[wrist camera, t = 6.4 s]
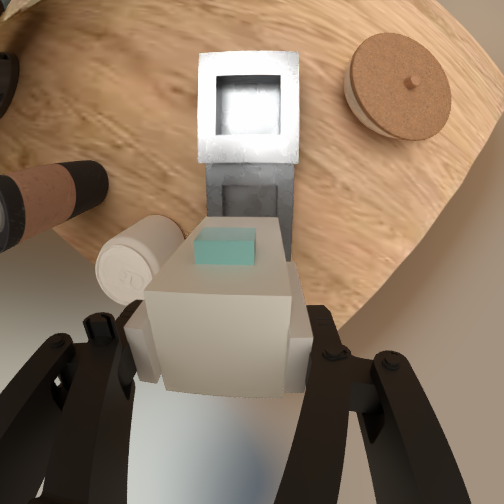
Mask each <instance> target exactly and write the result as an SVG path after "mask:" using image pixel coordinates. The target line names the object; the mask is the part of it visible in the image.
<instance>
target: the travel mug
mask: <svg viewBox="0 0 504 504" xmlns="http://www.w3.org/2000/svg"><path fill="white" fill-rule="evenodd" d="M107 191H108V177H107V173H106V171H105V169H104V168H103V167H102V165H100V164H99V163H98V162H95V161H91V160H86V161H74V162H64V163H55V164H49V165H44V166H39V167H34V168H29V169H24V170H20V171H16V172H11V173H7V174H3V175H0V253H2V252H4V251H6V250H7V249H9V248H11V247H13V246H15V245H17V244H19V243H21V242H23V241H25V240H27V239H29V238H31V237H33V236H35V235H37V234H39V233H41V232H43V231H46V230H48V229H50V228H52V227H54V226H56V225H59V224H61V223H63V222H65V221H67V220H69V219H71V218H73V217H75V216H77V215H79V214H81V213H83V212H85V211H87V210H89V209H91V208H93V207H95V206H97V205H98V204H100V203H101V202H102V201H103V200H104V198H105V196H106V194H107Z"/></svg>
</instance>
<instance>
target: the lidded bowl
mask: <svg viewBox="0 0 504 504" xmlns="http://www.w3.org/2000/svg"><path fill="white" fill-rule="evenodd" d="M343 87H344V93H345V97H346V100H347V102H348V105H349V107H350V108H351V110H352V112H353V113H354V115H355V116H356V117H357V118H358V119H359V120H360V121H361V122H362V123H363V124H364V125H365V126H366V127H368V128H369V129H371V130H373V131H375V132H376V133H378V134H381V135H383V136H386V137H390V138H395V139H403V140H413V141H417V140H424V139H427V138H430V137H432V136H434V135H436V134H437V133H438V132H439V131H440V130H441V129H442V128H443V127H444V125H445V124H446V122H447V120H448V117H449V114H450V110H451V91H450V86H449V83H448V79H447V77H446V75H445V72H444V71H443V69H442V67H441V65H440V64H439V62H438V61H437V60H436V58H435V57H434V56H433V55H432V54H431V53H430V52H429V51H428V50H427V49H426V48H425V47H424V46H422V45H421V44H419V43H418V42H416V41H415V40H413V39H411V38H409V37H406V36H403V35H400V34H395V33H381V34H377V35H374V36H371V37H369V38H368V39H366V40H365V41H364V42H363V43H362V44H361V45H360V46H359V47H358V48H357V50H356V51H355V53H354V54H353V55H352V57H351V59H350V60H349V62H348V64H347V67H346V69H345V74H344V83H343Z"/></svg>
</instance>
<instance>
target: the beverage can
mask: <svg viewBox="0 0 504 504" xmlns="http://www.w3.org/2000/svg"><path fill="white" fill-rule="evenodd" d="M184 241H185V240H184V236H183V234H182V232H181V230H180V228H179V227H178V226H177V224H176V223H175V222H173V221H172V220H171V219H169V218H167V217H165V216H161V215H150V216H147V217H145V218H143V219H141V220H140V221H138V222H136V223H135V224H133V225H132V226H130V227H129V228H127V229H125V230H124V231H122V232H121V233H119V234H118V235H116V236H115V237H113V238H112V239H110V240H109V241H107V242H106V243H105V244H104V245H103V247H102V248H101V250H100V252H99V255H98V257H97V260H96V265H95V272H96V277H97V281H98V283H99V285H100V287H101V289H102V290H103V291H104V293H105V294H106V295H107V296H108V297H109V298H111V299H112V300H113V301H115V302H117V303H119V304H121V305H125V306H127V305H128V304H130V303H131V302H133V301H134V300H136V299H138V300H144V299H145V298H144V292H143V290H144V289H145V288H146V286H147V285H148V284H149V283H150V281H151V280H152V279H153V278H154V276H155V275H156V274H157V273H158V272H159V270H160V269H161V268H162V267H163V265H164V264H165V263H166V262H167V261H168V259H169V258H170V257H171V256H172V255H173V254H174V252H175V251H176V250H177V249H178V248H179V246H180V245H181V244H182V243H183V242H184Z"/></svg>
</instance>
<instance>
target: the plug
mask: <svg viewBox="0 0 504 504" xmlns="http://www.w3.org/2000/svg"><path fill="white" fill-rule="evenodd" d="M143 292H144V298H145V303H146V308H147V314H148V318H149V320H150V325H151V330H152V334H153V339H154V343H155V347H156V352H157V356H158V360H159V364H160V367H161V371H162V377H163V381H164V384H165V388H166V390H169V391H176V392H184V393H193V394H202V395H213V396H226V397H245V398H282V395H283V387H284V372H285V362H286V351H287V340H288V329H289V326H290V314H291V301H292V294H291V288H290V282H289V276H288V270H287V264H286V259H285V253H284V248H283V242H282V237H281V231H280V226H279V220H278V217H205V218H204V219H203V220H202V221H201V222H200V223H199V224H198V226H197V227H196V228H195V229H194V230H193V231H192V232H191V234H190V235H189V236H188V237H187V238H186V239H185V241H184V242H183V243H182V244H181V245H180V246H179V248H178V249H177V250H176V251H175V252H174V254H173V255H172V256H171V257H170V258H169V259H168V261H167V262H166V263H165V264H164V265H163V267H162V268H161V269H160V270H159V272H158V273H157V274H156V275H155V276H154V278H153V279H152V280H151V281H150V283H149V284H148V285H147V286H146V288H145V289H144V290H143Z"/></svg>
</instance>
